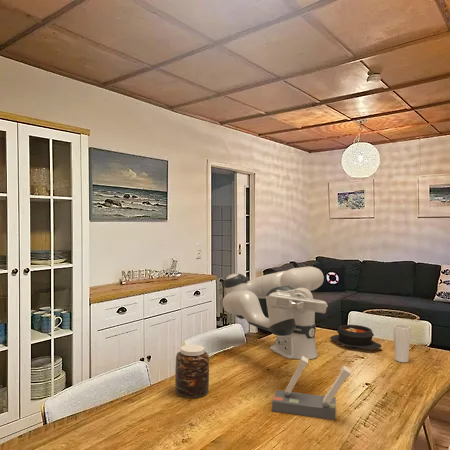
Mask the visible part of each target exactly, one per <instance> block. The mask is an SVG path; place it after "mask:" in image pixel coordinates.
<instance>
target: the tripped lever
mask: <svg viewBox="0 0 450 450" xmlns="http://www.w3.org/2000/svg"><path fill="white" fill-rule="evenodd" d="M309 360H310V359H307V358H305V357H304V356H302V357H301V359H299V363H298V366H297V367H296V369H295V371H294V373H293V375H292V377H291V378H290V380H289V382H288V385H286V388H285V390H284V391H285V396H286V397H288V396H289V395H290V393H291V392H293V390H294V387H295V386H296V383H297V381H298V380H299V379H300V377H301V374H302V373H303V370H304V369H305V368H306V367H307V366H308V364H309Z"/></svg>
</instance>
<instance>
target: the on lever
mask: <svg viewBox="0 0 450 450" xmlns="http://www.w3.org/2000/svg"><path fill="white" fill-rule="evenodd" d="M351 375H352V372H351V368H348V367H347V366H346V365H343V366H342V368H341V369H340V372H339V373H338V376H337V377H336V379H335V380H334V382H333V383H332V385H331V387H330V388H329V389H328V391H327V392H326V393H325V395H324V396H325V397H324V399H323V406H324V407H327V406H328V405H329V403H330V402H331V400H332V399H333V397H335V396H336V395H337V393H338V392H339V390H340V388H341V387H342V385H343V384H344V382H345V381H346V379H349V377H350V376H351Z"/></svg>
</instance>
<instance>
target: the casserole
mask: <svg viewBox="0 0 450 450" xmlns="http://www.w3.org/2000/svg"><path fill="white" fill-rule="evenodd" d="M336 332H337V334H336V335H334V334H333V335H332V336H330V337H329V338H330V340H332V341H334V342H335V343H337V344H339V345H341V346H344V347H346V348H349V349H356V350H361V349H362V350H366V351H367V350H368V351H371V350H377V349H380V348H382V344H380V343H378V342H375V341H374V340H373V337H374V336H375V335H374V333H373V330H372V329H371V328H370V327H368V326H364V325H359V324H358V325H356V324H344V325H340V326H339V327H338V329H337V331H336Z"/></svg>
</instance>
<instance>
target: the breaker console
mask: <svg viewBox="0 0 450 450" xmlns="http://www.w3.org/2000/svg"><path fill="white" fill-rule="evenodd" d="M325 396H326V395H318V394H317V395H316V394H310V393H303V392H295V391H291V393H290V395H289V396H288V397H286V396H285V390H280V389H276V390H275V393H274V394H273V398H272V401H271V412H275V413H276V412H277V413H281V414H282V413H283V414H289V415H290V414H291V415H298V416H304V417H309V418H310V417H311V418H318V419H326V420H332V421H333V420H334V421H336V412H337V411H336V410H337V409H336V404H337V402H336V401H337V398H336V397H335V396H334V397H333V399H332V400H331V402H330V403H329V405H328V406H327V407H324V406H323V399H324V397H325Z"/></svg>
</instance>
